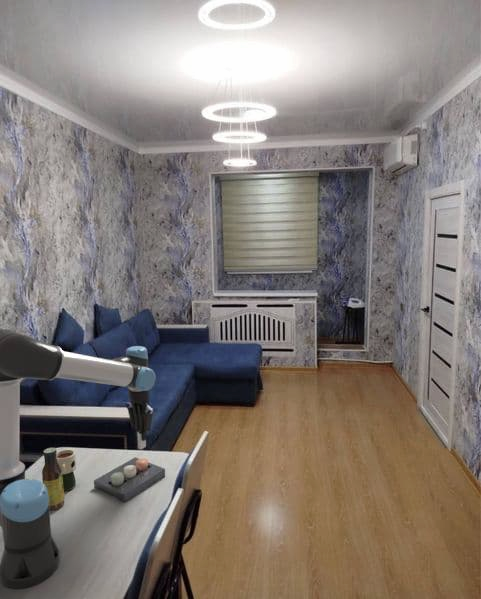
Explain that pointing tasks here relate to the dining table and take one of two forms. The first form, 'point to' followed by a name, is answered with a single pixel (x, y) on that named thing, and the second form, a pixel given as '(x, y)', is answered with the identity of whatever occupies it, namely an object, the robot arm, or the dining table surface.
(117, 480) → the sage button
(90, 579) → the dining table surface
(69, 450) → the character mug
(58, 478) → the sauce bottle
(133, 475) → the cream button
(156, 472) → the panel
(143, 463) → the terracotta button
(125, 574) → the dining table surface
